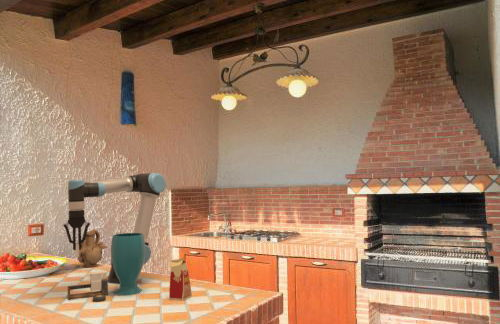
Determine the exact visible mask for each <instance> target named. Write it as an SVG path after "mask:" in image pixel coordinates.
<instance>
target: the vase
mask: <svg viewBox="0 0 500 324" xmlns="http://www.w3.org/2000/svg"><path fill="white" fill-rule="evenodd" d="M110 244H111V245H110V260H111V259H112V264H113V268H114V270H115V273H116V275H117V277H118V279H119V281H120V283H119V287H118V288H117V289H116V291H115V292H113V294H114V295H117V296H132V295H133V294H134V295H137V293H138V294H141V293H142V292H143V291H142V290H143V289H142V288H140V287H139V286H138V284H137V281H138V279H139V276H140V274H141V271H142V269H143V267H144V265H143V263H144V259H145V240H144V235H143V234H141V233H133V232H127V233H126V232H125V233H116V234H113V235H112V237H111V243H110ZM141 291H142V292H141ZM140 292H141V293H140Z"/></svg>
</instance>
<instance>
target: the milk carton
mask: <svg viewBox="0 0 500 324" xmlns="http://www.w3.org/2000/svg"><path fill="white" fill-rule="evenodd" d="M170 262H171V265H170V274H169V275H170V276H169V287H168V289H169V292H168V293H169V294H168V295H169V297H168V300H170V301H171V300H174V301H185V300H188V299H189V298H190V297H192V296H193V294H192V293H193V292H192V286H191V285H192V284H191V279H190V274H189V269H188V264H187V261H185V257H181V258H179V259H171V260H170Z"/></svg>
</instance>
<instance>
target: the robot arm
mask: <svg viewBox="0 0 500 324" xmlns="http://www.w3.org/2000/svg"><path fill="white" fill-rule="evenodd" d="M67 185H68V186H67V193H68V198H67V199H68V201H67V202H68V220H67V222H66V223H63V224H62V226H63V227H64V229H65V232H66V235H67V239H68V243H70V244H72V250H73V251H75V257H76V258H78V257H79V250H81V243H82V242H84V241H85V238H86V234H87V232H88V230H89V226H90V225H91V223H90V222H88V221H87V220H86V218H85V199H86V198H100V197H103V196H104V195H105V194H112V193H121V192H126V193H139V195H140V202H139V206H138V211H137V215H136V220H135V222H134V223H135V224H134V228H133V232H132V233H141V234H143V235H144V240H145V259H144V263H143V266H144V265H145V264H147V263H148V261H149V260H150V259H151V255H152V251H151V247H150V242H149V241H148V240H149V239H148V237H149V233H150V228H151V224H152V219H153V215H154V210H155V205H156V202H157V200H158V199H159V198H160V194H162V193H163V191H165V189H166V187H167V184H166V179H165V177H164V176H163V175H162V174H161V173H156V172H149V173H148V172H147V173H145V172H144V173H138V174H134V175H128V176H125V177H123V178H115V179H106V180H105V179H103V180H96V181H88V182H85V181H84V179H69V180H68V184H67ZM69 226H70V227H71V228H72V236H71V233H70V230H69ZM83 226H84V229H83V234H82V227H83ZM76 231H77V232H76ZM76 235H77V236H76ZM71 237H72V238H71ZM76 239H77V240H76ZM110 260H111V261H110V265H111V267H110V270H109V274H108V276H107V277H108V278H107V280H108V283H111V284H120V281H119V279H118V277H117V275H116V273H115V270H114V268H113V264H112V259H111V258H110Z"/></svg>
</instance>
